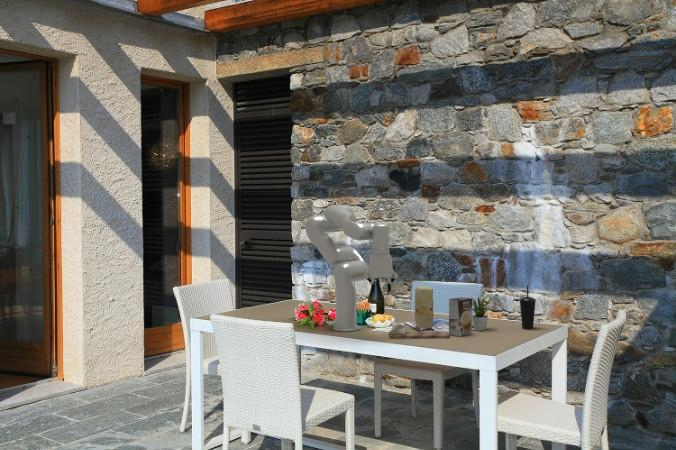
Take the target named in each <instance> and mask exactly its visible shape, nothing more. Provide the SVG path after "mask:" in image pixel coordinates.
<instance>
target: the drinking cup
mask: <svg viewBox="0 0 676 450" xmlns="http://www.w3.org/2000/svg"><path fill="white" fill-rule="evenodd" d="M518 300H519V305H520V306H519V307H520V316H521V328H522V329H523V330H533V329H534V324H535V323H534V321H535V312H536V311H535V310H536V302H537V299H536V298H534V297H532V296H529V285H526V296H523V297H521V298H519V299H518Z"/></svg>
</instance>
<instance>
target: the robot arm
mask: <svg viewBox="0 0 676 450" xmlns="http://www.w3.org/2000/svg"><path fill="white" fill-rule="evenodd" d="M304 228H305V233H306V236H307V238H308V239H309V241H310V242H311V244H312V245H314V247H315V248H316V249H317V250H318V252H319V253H320V254H321V256H322V257H323V258H324V260H325V261H326V262H327V264H328V265H330V266H332V267H333V278H334V283H335V285H334V286H335V319H334V320H326V326H332V330H334V331H336V332H357V331H360V330H361V327H360V325H357V315H358V314H357V312H358V311H357V289H356V287H355V285H354V284H353V283H354V282H360V281H364V280H367V281H368V283H370V285H371V286H370V287H371V289H370V291H371V292H372V294H375V293H376V292H375V291H376V290H375V288H376V287H375V285H376V284H375V280H376V279H386V280H387V285H386V286H387V288H386V289H387V294H390V292H392V283H393V282H394V281H396V280H397V279H398V277H399V274H398V273H397V272H396V271H395V270H394V268H393V259H392V255H391V254H390V225H389V224H385V223H380V224H379V223H375V222H369V223H368V222H366V223H358V222H357V217H356V215H355V213H354V210H353V208H352V207H351V206H350V205H348V204H332V205H329V206H327V207H326V208H325V210H324V213H323V214H318V215H312V216H310V217H308V218H307V220H306V221H305V226H304ZM341 229H342V232H343V233H344V235H345V236H347V237H348V238H351V239H352V240H355V241H371V243H372V245H371V247H372V248H370V249H368V253H370V254H371V255H370V258H369V266H368V264H367V262H366V261H365V260H364V259H363V257H362V256H361V255H360V253H359V252H358V250H357V249H356V248H354V247H353V246H350V245H340V244H339V245H338V244H337V243H336V242H335V241H334V240H333V238H332V237H331V236H329V235H328V234H326V233H335V232H338V231H339V230H341ZM393 275H394V276H393Z"/></svg>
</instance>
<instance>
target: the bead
mask: <svg viewBox="0 0 676 450" xmlns="http://www.w3.org/2000/svg"><path fill="white" fill-rule="evenodd" d="M391 327H392V328H391V330H392V331H391V332H393V334H405V332H406V331H405V323H404V322H392V325H391Z"/></svg>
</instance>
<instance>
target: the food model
mask: <svg viewBox="0 0 676 450" xmlns="http://www.w3.org/2000/svg"><path fill="white" fill-rule="evenodd" d="M414 289H415V290H414V321H415V325H416V328H417V327H419V328H432V327H433V328H434V289H433V288H432V287H430V286H426V285H418V286H416V287H415V288H414ZM419 328H418V329H419ZM433 328H432V329H433Z"/></svg>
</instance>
